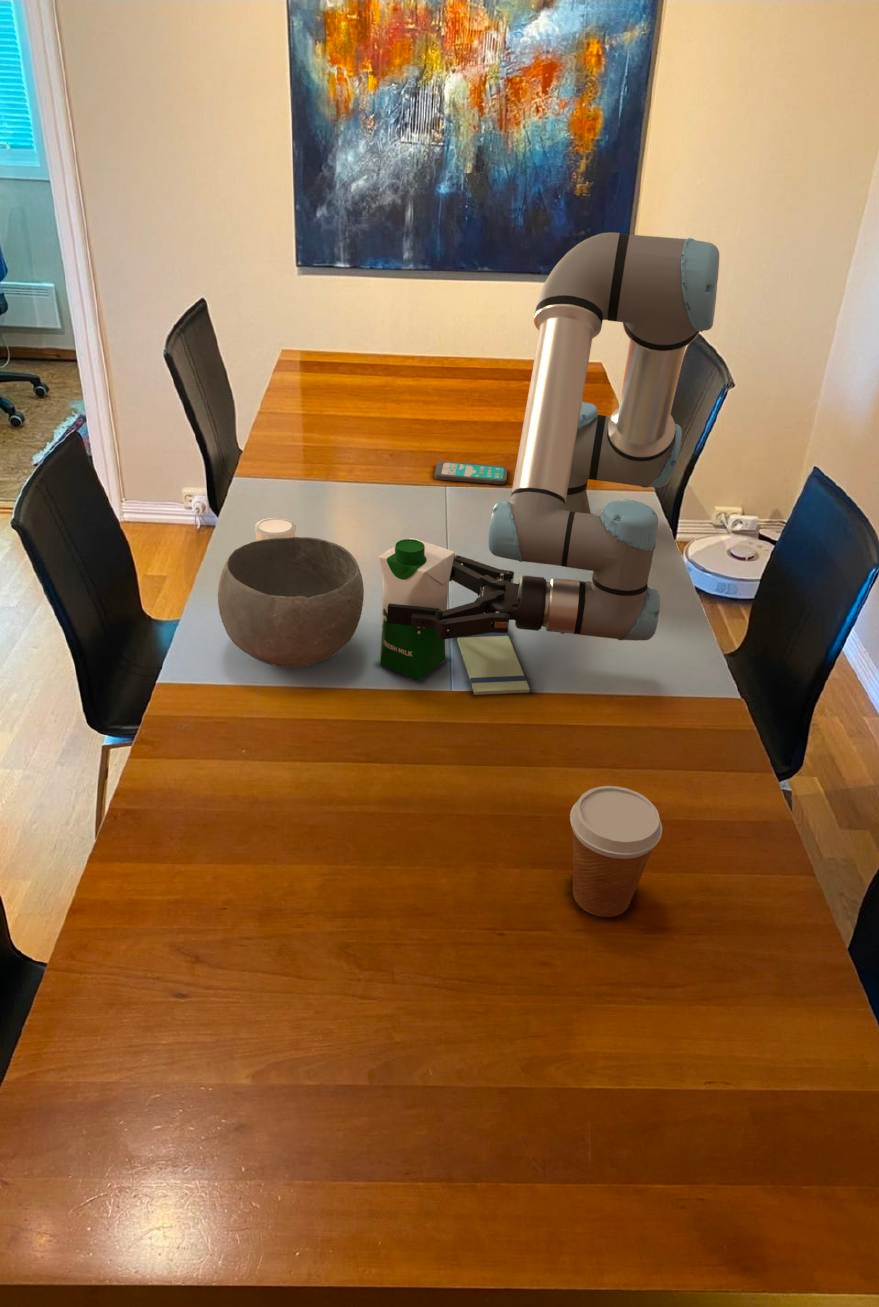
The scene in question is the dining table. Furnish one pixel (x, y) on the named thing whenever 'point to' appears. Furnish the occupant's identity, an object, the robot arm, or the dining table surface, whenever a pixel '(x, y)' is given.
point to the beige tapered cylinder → (274, 528)
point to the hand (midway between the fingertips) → (395, 589)
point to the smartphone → (471, 472)
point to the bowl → (290, 599)
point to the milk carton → (414, 604)
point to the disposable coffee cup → (611, 847)
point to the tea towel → (492, 664)
